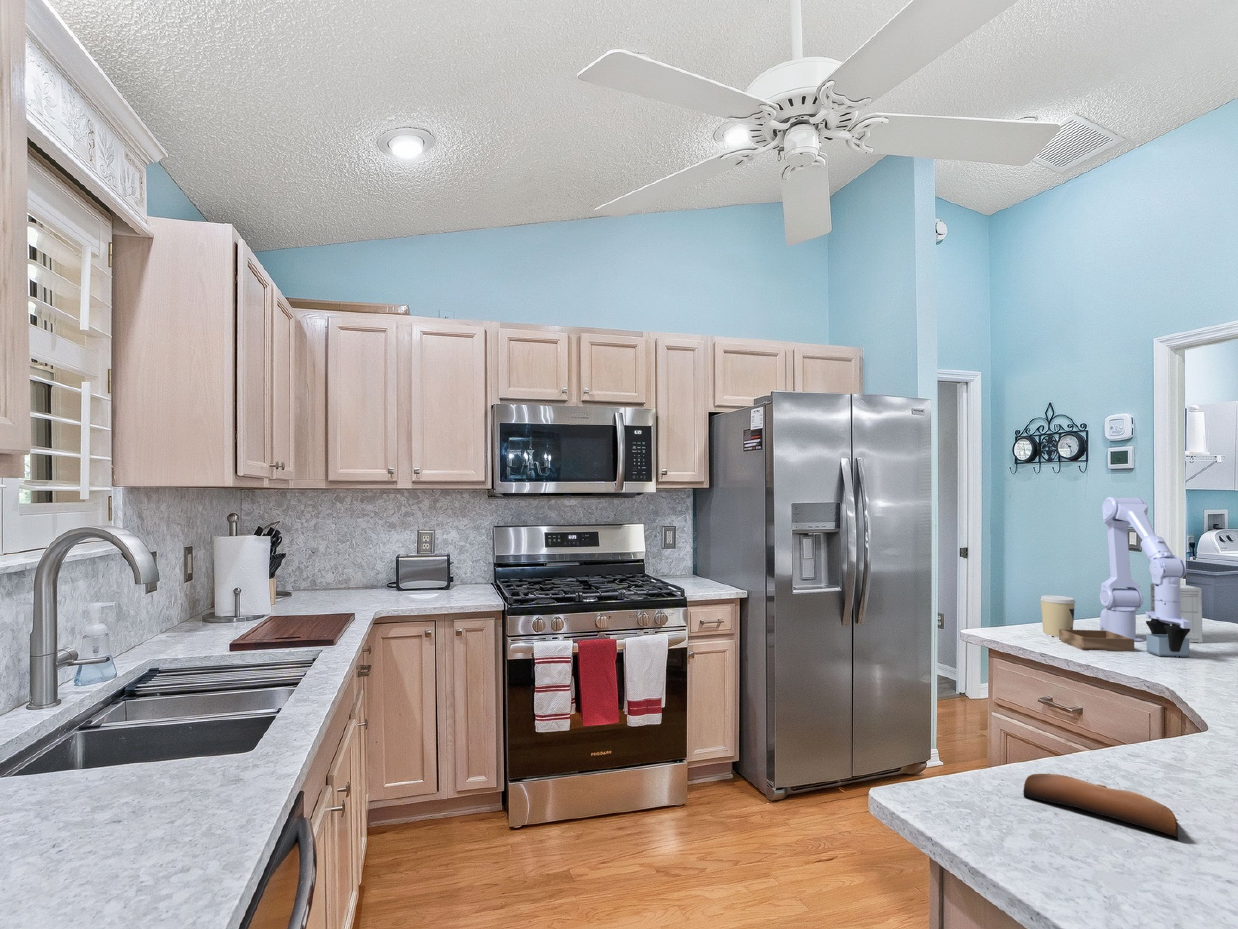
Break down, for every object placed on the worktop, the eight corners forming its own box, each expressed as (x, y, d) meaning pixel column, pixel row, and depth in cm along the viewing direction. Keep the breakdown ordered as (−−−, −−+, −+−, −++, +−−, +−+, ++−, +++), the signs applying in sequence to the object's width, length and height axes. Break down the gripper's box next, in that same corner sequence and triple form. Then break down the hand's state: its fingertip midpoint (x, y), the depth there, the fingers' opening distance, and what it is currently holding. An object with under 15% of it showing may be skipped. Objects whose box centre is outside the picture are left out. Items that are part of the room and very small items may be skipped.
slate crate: (1146, 651, 195) (1146, 634, 195) (1175, 652, 194) (1175, 634, 194) (1159, 656, 190) (1159, 638, 190) (1189, 657, 189) (1189, 638, 189)
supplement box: (1182, 636, 217) (1181, 583, 217) (1203, 643, 208) (1203, 587, 208) (1149, 635, 218) (1149, 582, 218) (1170, 642, 209) (1169, 587, 209)
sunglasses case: (1182, 818, 96) (1180, 784, 93) (1180, 862, 91) (1178, 827, 89) (1034, 780, 108) (1029, 749, 105) (1025, 817, 103) (1020, 785, 101)
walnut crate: (1059, 640, 208) (1059, 629, 208) (1107, 642, 207) (1107, 630, 207) (1083, 650, 196) (1083, 638, 196) (1134, 651, 195) (1134, 639, 195)
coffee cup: (1079, 640, 210) (1079, 600, 210) (1044, 637, 213) (1044, 598, 213) (1070, 633, 219) (1070, 596, 219) (1036, 631, 222) (1036, 594, 222)
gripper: (1134, 596, 200) (1134, 642, 199) (1171, 604, 185) (1171, 655, 185) (1159, 596, 199) (1160, 643, 199) (1198, 605, 185) (1199, 656, 185)
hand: (1167, 649), depth 192 cm, fingers closed on slate crate, 5 cm apart
